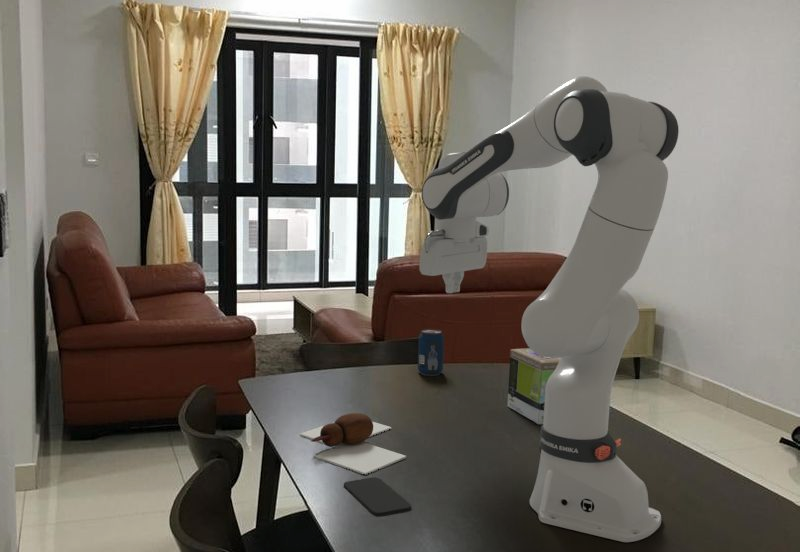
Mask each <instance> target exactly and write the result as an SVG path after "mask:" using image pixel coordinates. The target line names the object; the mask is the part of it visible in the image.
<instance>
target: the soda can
mask: <svg viewBox="0 0 800 552" xmlns="http://www.w3.org/2000/svg"><path fill="white" fill-rule="evenodd" d="M444 343H445V337H444V335H443V331H442V330H440V329H438V328H437V329H436V328H423V329H422V330H421V331H420V334H419V336H418V350H417V351H418V353H417V369H418V372H419V374H421V375H423V376H425V377H427V376H429V377H434V376H440V374H441V373H442V372H443V370H444V349H445V346H444V345H445V344H444Z"/></svg>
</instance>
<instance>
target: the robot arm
mask: <svg viewBox="0 0 800 552" xmlns="http://www.w3.org/2000/svg"><path fill="white" fill-rule="evenodd" d="M679 132H680V131H679V124H678V120H677V118H676V116H675V114H674V113H673V112H672V110H670V109H668V108H667V107H665V106H664V105H662V104H659V103H657V102H655V101H646V100H644V99H640V98H638V97H633V96H630V95H628V94H627V93H626V94H625V93H622V92H615V91H608V89H607V88H606V87H605V85H604V84H602V83H601V81H599V80H597V79H595V78H593V77H590V76H583V75H582V76H577V77H574V78H572V79H570V80H568V81H566V82H565V83H563V84H562V85H560V86H559V87H557V88H556V89H554V90H553V91H551V92H550V93H549V94H547V95H546V96H544V98H543V99H541V101H539V102H538V103H536V105H535V106H534V107H533V108H531V109H530V110H528V111H527V112H526V113H525V114H524V115H522V116H521V117H519V118H518V119H517V120H515V121H513V122H512V123H510V124H509V125H506V127H503V128H502V129H500V130H498V131H496V132H495V133H493V134H491V135H490V136H487V137H486V138H484V139H483V140H481V142H479V143H478V144H476V145H475V146H473V147H472V148H470V150H468V151H467V152H466V151H462V152H461V151H460V152H459V151H458V152H451V153H447V154H444V155H443V156H441V158H440V160H439V162H438V167H437V168H435V169H434V170H432V171H431V172H430V174H429V175H428V176H427V178H426V179H425V180H424V183H423V184H422V189H421V200H422V203H423V205H424V207H425V208H426V210H427V211H428V212H429V214H431V215H432V216H433V217H434V230H430V231H428V234H426V235H425V237H424V239H423V243H422V245H421V249H420V256H419V272H420V274H421V275H423V276H430V277H434V276H436V277H437V276H440V275H442V279H443V282H444V284H445V292H446V294H453V293H459V292H460V290H461V283H462V281H463V280H464V277H465V272H466V271H473V270H479V269H483V268H484V267H485V266H486V263H487V257H488V238H487V237H488V236H489V232H490V230H489V229H490V228H489V226H488V225H486V224H484V223H481V222H480V221H478V220H477V218H484V217H487V218H490V217H494V216H499V215H500V214H502V213H503V212H504V210H505V209H506V208H507V205H508V202H509V199H510V188H509V184H508V181H507V179H506V178H505V176H504V175H503V174H502V173H503V172H508V171H514V170H515V171H517V170H525V169H526V170H528V169H543V168H549V167H552V166H554V165H555V166H556V165H557V164H560V162H563V161H565V160H566V159H568V158H570V157H572V156H574V157H575V159H576V160H577V162H578V163H579V164H580V165H582V166H583V167H589V166H592V165H595V167H596V169H597V174H598V178H597V183H596V185H595V186H596V187H595V189H594V192H593V194H592V197H591V199H590V202H589V204H588V207H587V210H586V213H585V215H584V218H583V221H582V223H581V226H580V229H579V231H578V234H577V237H576V239H575V242H574V244H573V246H572V248H571V250H570V252H569V253H568V255H567V257H566V259H565V260H564V262H563V263H562V265H561V267H560V268H559V269H558V271H557V272H556V274H555V276H554V277H553V278H552V280H551V281H550V283H548V286H547V287H546V289H544V291H543V292H542V293H541V294H540V295H539V296H538V297H536V299H535V300H534V301H532V302H531V303H530V304H529V305H528V306H527V307H526V309H525V310H524V312H523V315H522V317H521V334H522V337H523V339H524V341H525V343H526V345H527V347H528V348H530V349H531V350H532V351H533V352H535V353H536V354H538V355H541V356H544V357H553V358H560V361H559V363H558V365H557V367H556V369H555V371H554V372H553V373H552V375H551V376H550V377H549V379H548V381H547V384H546V387H545V404H544V422H543V424H541V426H540V432H539V434H540V435H539V449H538V450H539V454H540V459H539V462H538V463H539V465H538V470H537V475H536V479H535V483H534V487H533V490H532V493H531V496H530V498H529V505H530V507H531V508H532V510H534V511H535V512H536V513H537V515H538V519H539V522H541V523H543V524H547V525H551V526H554V527H559V528H564V529H567V530H572V531H576V532H580V533H584V534H588V535H591V536H592V535H593V536H597V537H601V538H605V539H610V540H613V541H616V542H617V541H618V542H621V543H632V542H639V541H641V540H643V539H646V538H648V537H650V536H651V535H652V534H654V533H655V532H656V531H657V530H658V529H659V528H660V526H661V524H662V514H661V512H660V511H659V510H656V509H655V508H652V507H649V506H650V504H649V503H650V502H649V495H648V493H649V492H648V489H647V486H646V484H645V482H644V480H642V479H641V478H639V476H637V474H636V473H635V472H634V471H632V469H631V468H629V467H628V466H627V464H625V462H624V461H622V459H620V457H619V456H618V455H617V448H618V447H620V446H621V445H622V444H621V441H622V438H618V439H616V440H614V438H613V437H612V435H611V433H610V431H609V419H610V406H611V394H612V389H613V385H614V380H615V378H616V373H617V371H618V368H619V364H620V362H621V358H622V355H623V353H624V350H625V347H626V346H627V343H628V341H629V339H630V338H631V336H632V335H633V333H635V331H636V330H637V327H638V326H639V322H640V309H639V306H638V303H637V302H636V300H635V297H633V296H632V295H631V294H630V293H629V292H628V291H626V290H625V289H623V287H624V286H625V285H626V284H627V283H628V281H630V280H631V279H632V278H633V277H635V275H636V273H637V272H638V270H639V268H640V266H641V263H642V260H643V258H644V256H645V253H646V251H647V248H648V245H649V242H650V241H651V238H652V235H653V233H654V230H655V228H656V225H657V223H658V220H659V217H660V213H661V211H662V207H663V204H664V200H665V197H666V196H665V195H666V192H667V186H668V180H669V170H668V167H667V166H666V164H665V162H664V161H665V160H666V159H667V158H668V157H669V156H670V155H671V154H672V153H673V151H674V149H675V148H676V146H677V142H678V138H679Z"/></svg>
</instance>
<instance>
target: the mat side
mask: <svg viewBox="0 0 800 552" xmlns="http://www.w3.org/2000/svg"><path fill="white" fill-rule="evenodd" d="M314 458H316V459H319V460H322V461H324V462H327V463H330V464H332V465H335V466H338V467H341V468H344V469H346V468H347V469H346V470H349V469H350V470H349V471H352V470H353V472H355V471H356V472H355V473H358V474H362V475H363V474H365V475H364V476H366V474H367V475H369V474H371V472H372V473H374V472H377V471H378V469H379V470H381V469H384V468H386V467H388V466H391V465H392V464H396V463H398V462H400V461H402V460H404V459H407V455H405V454H401V453H398V452H396V451H392V450H389V449H387V448H383V447H380V446H376V445H374V444H370V443H367V442H365V441H363V442H362V443H359V444H354V445H351V444H345V445H342V446H339V447H337V448H336V447H333V448H331V449H329V450H326V451H323V452H321V453H319V454H318V453H317V454H315V455H314ZM368 473H369V474H368Z"/></svg>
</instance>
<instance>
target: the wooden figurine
mask: <svg viewBox="0 0 800 552" xmlns="http://www.w3.org/2000/svg"><path fill="white" fill-rule="evenodd" d="M373 422H374V421H372V419H371V417H370V416H368V415H367V414H365V413H360V412H358V413H355V412H354V413H347V414H343V415H341V416H339V417H338V418H336V420H335V421H334V423H333V422H331V423H327V424H324V425H325V426H324V425H322V426H323V428H322V429H321V432H320V436H319V437H316V438H314V439H313V440H312V439H311V440H310V441H311V442H318V441H320V440H322V442H323V443H322V444H323V445H325V446H327V447H333V446H336V445H339V444H340V443H341V442H342V443H344V444H351V445H354V444H359V443H362V442H365V441H366V440H367V439H369V438H370V437H369V436H370V435H371V434H372V432H373Z"/></svg>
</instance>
